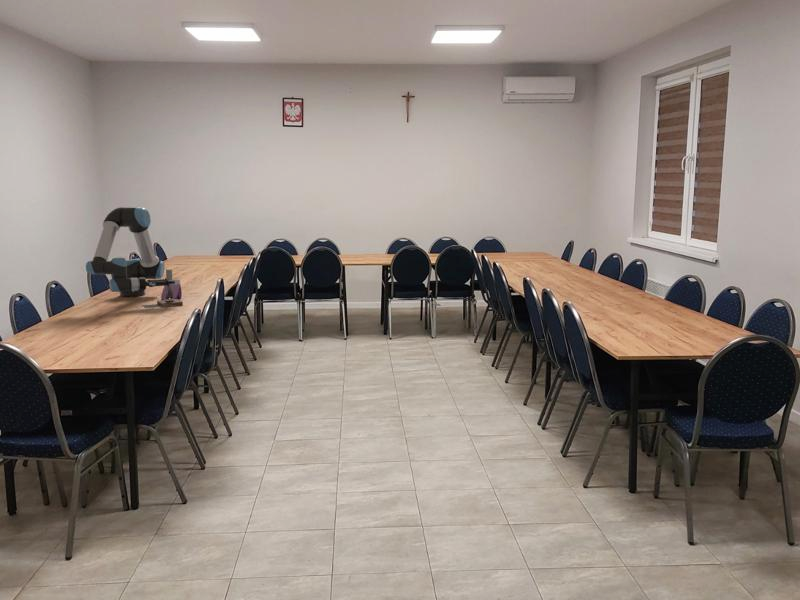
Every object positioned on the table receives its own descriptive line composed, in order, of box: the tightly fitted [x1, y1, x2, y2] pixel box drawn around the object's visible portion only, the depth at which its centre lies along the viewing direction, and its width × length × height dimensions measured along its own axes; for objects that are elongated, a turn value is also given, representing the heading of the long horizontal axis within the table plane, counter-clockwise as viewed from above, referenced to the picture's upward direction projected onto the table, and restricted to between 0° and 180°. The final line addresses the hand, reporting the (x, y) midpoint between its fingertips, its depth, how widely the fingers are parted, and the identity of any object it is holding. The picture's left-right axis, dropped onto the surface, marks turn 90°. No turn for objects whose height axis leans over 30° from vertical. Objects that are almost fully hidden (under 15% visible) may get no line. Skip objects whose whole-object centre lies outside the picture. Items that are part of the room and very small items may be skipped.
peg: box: [165, 268, 173, 298], centre depth 431 cm, size 3×3×17 cm
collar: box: [156, 299, 184, 308], centre depth 433 cm, size 12×12×2 cm
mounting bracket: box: [160, 283, 182, 300], centre depth 451 cm, size 9×8×18 cm
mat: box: [141, 303, 160, 309], centre depth 428 cm, size 10×8×1 cm
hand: (178, 281), depth 434 cm, fingers closed on peg, 3 cm apart
